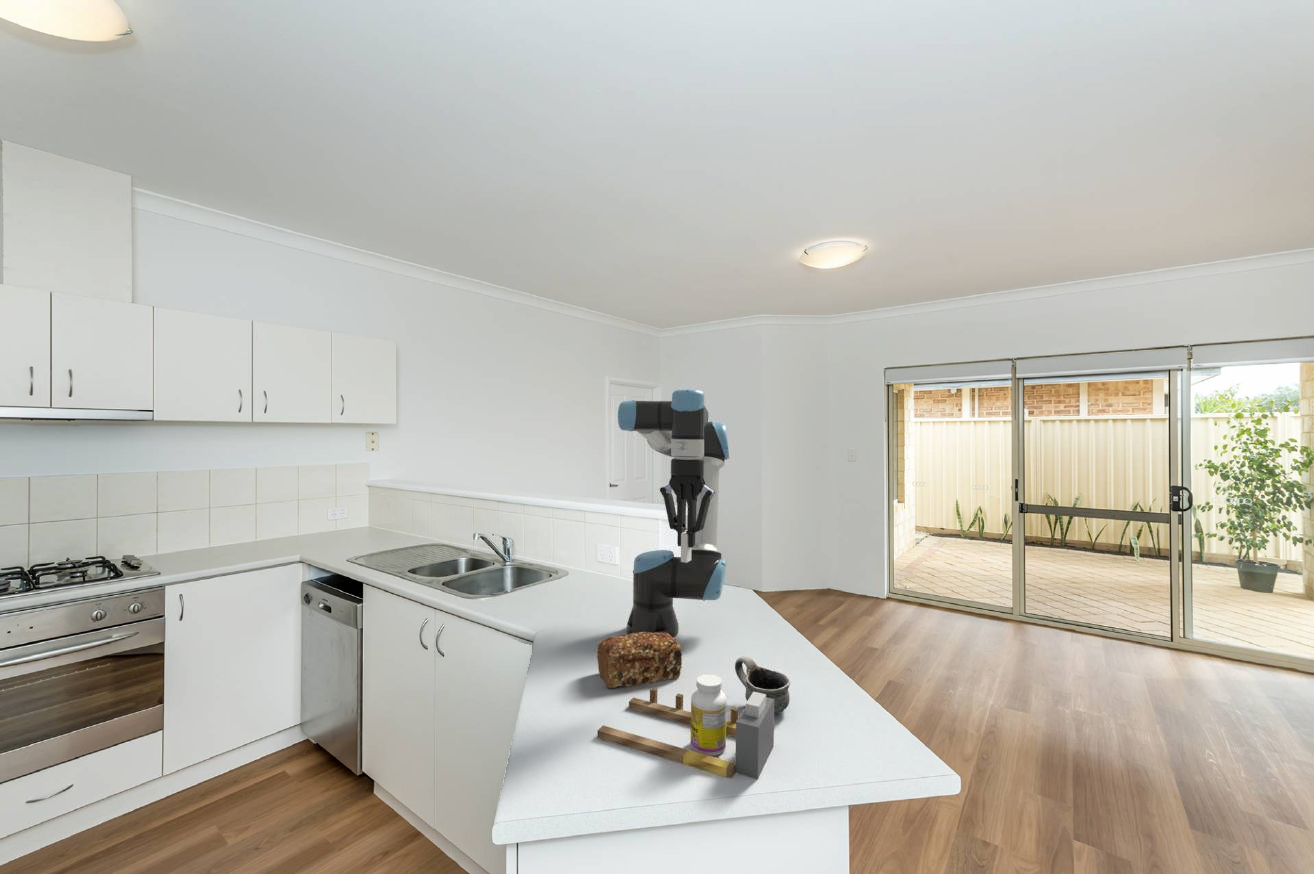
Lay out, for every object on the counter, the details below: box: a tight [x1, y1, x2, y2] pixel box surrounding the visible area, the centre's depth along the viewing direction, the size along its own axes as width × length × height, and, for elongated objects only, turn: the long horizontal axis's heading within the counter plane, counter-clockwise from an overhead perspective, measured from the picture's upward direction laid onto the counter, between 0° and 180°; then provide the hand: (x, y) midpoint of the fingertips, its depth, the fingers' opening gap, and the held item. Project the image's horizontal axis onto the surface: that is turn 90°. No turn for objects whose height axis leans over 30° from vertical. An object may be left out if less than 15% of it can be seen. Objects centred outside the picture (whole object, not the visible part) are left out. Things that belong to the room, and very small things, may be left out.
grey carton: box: [733, 692, 775, 780], centre depth 100 cm, size 4×11×11 cm, turn 154°
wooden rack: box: [596, 686, 739, 779], centre depth 107 cm, size 27×16×4 cm, turn 64°
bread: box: [596, 632, 683, 689], centre depth 133 cm, size 19×11×10 cm, turn 110°
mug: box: [734, 655, 791, 716], centre depth 118 cm, size 10×12×10 cm
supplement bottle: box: [690, 674, 728, 757], centre depth 103 cm, size 7×7×13 cm
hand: (686, 560), depth 126 cm, fingers closed
